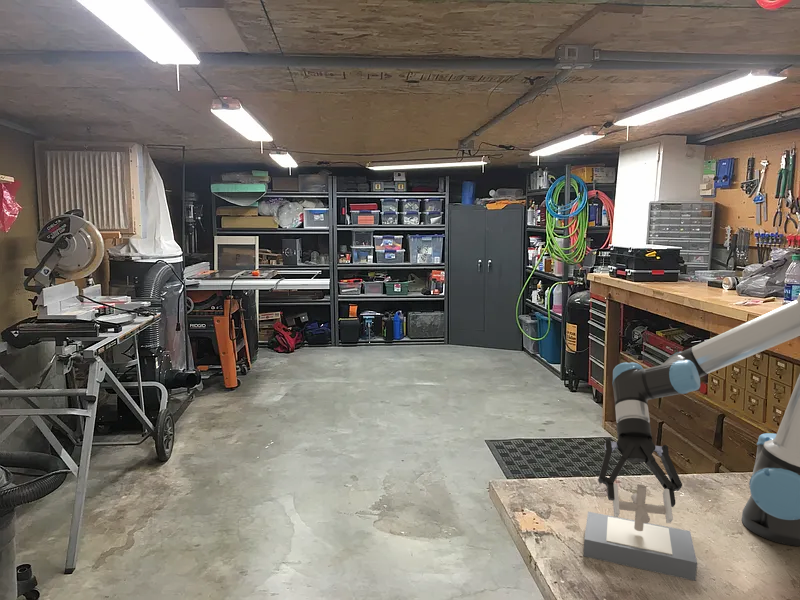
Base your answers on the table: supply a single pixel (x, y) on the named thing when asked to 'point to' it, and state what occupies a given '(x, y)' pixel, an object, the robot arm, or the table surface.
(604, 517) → the grey flat block
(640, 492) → the pipe connector
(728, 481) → the table surface
